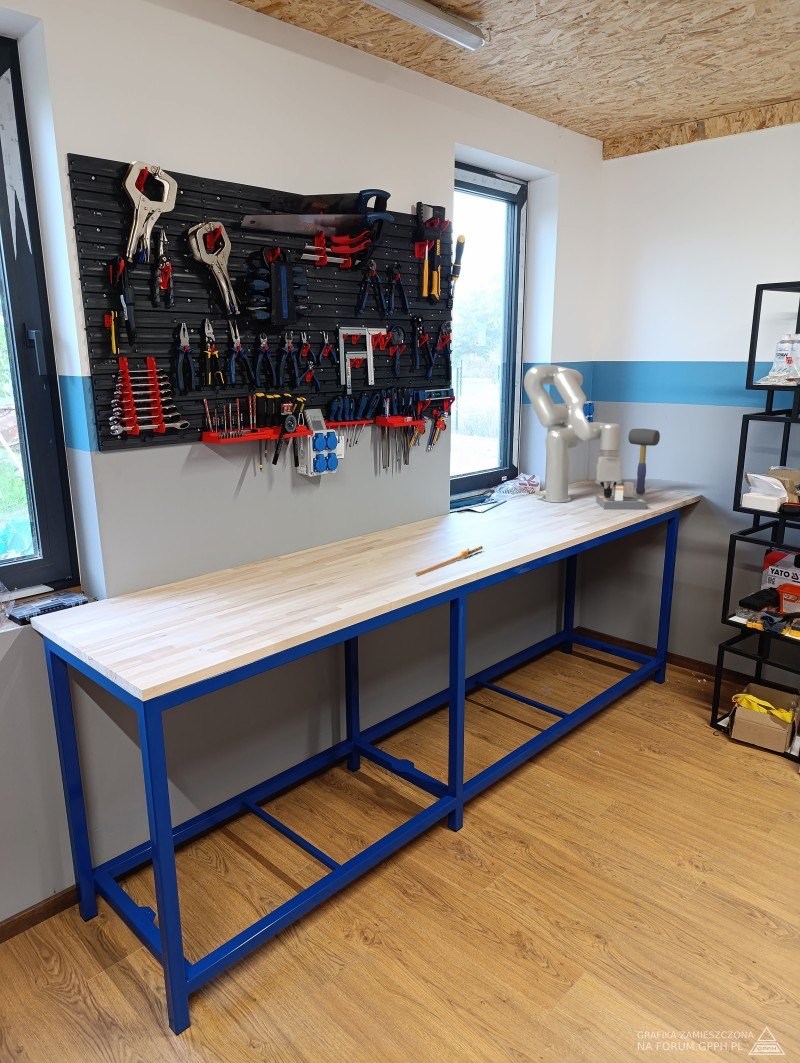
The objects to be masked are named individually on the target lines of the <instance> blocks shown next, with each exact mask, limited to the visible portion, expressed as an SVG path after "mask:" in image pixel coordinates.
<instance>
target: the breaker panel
mask: <svg viewBox="0 0 800 1063" xmlns="http://www.w3.org/2000/svg"><path fill="white" fill-rule="evenodd" d="M634 485H635V484H634V482H632V481H624V482H623V487H624V490H623V501H615V500H614V499H613V494H612V496H610V498H605V496H604V494H603V495H602V494H597V495H596V498H595V499H596V500H595V503H596V504H598V506H600V507H601V508H602V507H603V508H604V509H603V508H602V509H603V510H646V509H647V501H646V500H643V499H642V498H641V497H639V496H638V494H636V495H635V494H634Z"/></svg>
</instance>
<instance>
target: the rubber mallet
mask: <svg viewBox="0 0 800 1063" xmlns="http://www.w3.org/2000/svg"><path fill="white" fill-rule="evenodd" d="M627 437H628V442H629V444H632V445H637V446H638V445H639V446H640V449H639V460H638V461H639V462H638V466H637V472H636V475H637V479H636V480H637V481H636V482H637V483H636V489H635V493H636V495H638V494H639V496H641V495H642V496H643V495H644V494H645V492H646V488H645V487H646V486H645V485H646V476H647V463H646V457H647V456H646V455H647V446H649V447H651V446H657V445H658V444H659V442H660V439H661V434H660V432H659V430H657V429H649V428H632V429H631V430H629V432H628V436H627Z"/></svg>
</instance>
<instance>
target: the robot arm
mask: <svg viewBox="0 0 800 1063" xmlns="http://www.w3.org/2000/svg"><path fill="white" fill-rule="evenodd" d="M583 381H584V378H583V374H581V372H580V371H578V370H577V369H573V368H568V367H565V366H561V365H555V364H554V365H553V364H540V365H539V364H538V365H533V366H532V367H530V368H529V369H528V370H527V371H526V372H525V375H524V380H523V385H524V390H525V393H526V394H527V397H528V398H529V400H530V403H531V404H532V407H533V410H534V412H535V414H536V416H537V419H538V420H539V423H540V424H541V426H542V427H544V428H546V429H549V428H550V429H551V428H553V429H552V430H550V431H548V433H547V434H546V436H545V440H544V441H545V448H546V477H545V478H546V479H545V480H546V482H545V488H544V490H542V491H540V490H535V491H534V496H538V497H541V496H542V497H541V499H542V501H543V502H547V503H568V502H571V501H572V497H571V496H568V495H569V476H570V475H569V473H570V457H569V456H570V455H569V452H568V450H569V449H573V448H576V447H577V446H578V445H579V444H580V441H583V442H592V441H593V442H594V441H600V448H599V450H597V451H596V455H599V456H598V457H597V458H598V459H597V461H596V469H595V480H594V483H595V484H597V485H600V486H601V487H603V495H604V496H605V498H610V496H612V495H613V494H612V493H613V489H614V486H615V485H622V480H623V461H622V457H621V456H620V444H621V425H620V424H619V423H614V422H613V423H612V422H611V423H605V422H601V421H593V422H589V420H588V418H587V416H586V415H585V413H584V405H585V404H586V402H587V396H586V394H585V393H584V391H583V390H582V387H581V386H582V385H583ZM548 385H549V386H550V385H552V386H555V389H556V390H557V392H558V393H559V394H560V396H561V399H562V400H563V401H564V404H565V405H566V406H565V405H562V404H561V405H560V404H555V402H554V401H553V399H552V396H551V395H550V393H549V392H548V390H547V389H546V388H545V387H544V386H548Z"/></svg>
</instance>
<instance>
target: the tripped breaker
mask: <svg viewBox="0 0 800 1063" xmlns="http://www.w3.org/2000/svg"><path fill="white" fill-rule="evenodd" d="M623 493H624V485H622V484H616V485H615V486H614V487H613V494H612V495H613V499H614V500H615V501H623Z"/></svg>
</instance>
